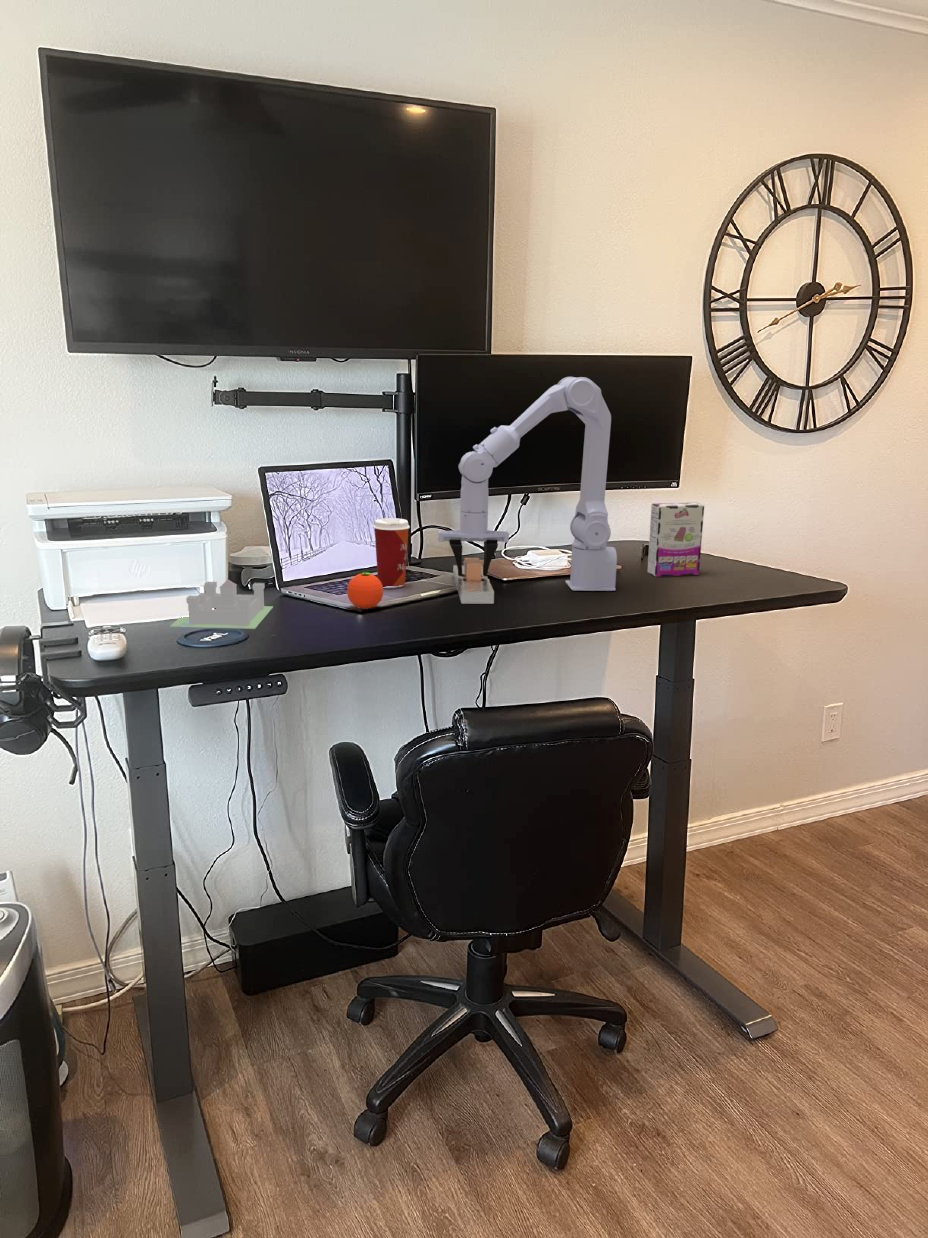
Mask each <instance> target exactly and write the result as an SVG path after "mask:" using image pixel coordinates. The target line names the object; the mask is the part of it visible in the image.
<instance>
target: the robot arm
mask: <svg viewBox="0 0 928 1238" xmlns="http://www.w3.org/2000/svg"><path fill="white" fill-rule="evenodd" d="M565 411H571V412H573V413H574V414H575V415H576V416H577V417H578V418H579V419H580V420H581V421H582V422H583V424H584V425H585V428H584V439H583V440H584V441H583V453H582V454H583V455H582V464H581V466H582V467H581V468H582V469H581V479H580V494H579V501H578V502H577V504H576V507H575V513H574V516H573V518H572V520H571V521H570V525H569V530H570V533H571V535H572V536H573V537H574V540H573V541H572V542H571V544H572V545H571V556H570V557H571V559H570V575H569V577H570V578H569V579H567V580H565V584H566V585H567V586H568V587H569V588H570V589H571V591H575V592H576V591H579V592H580V591H584V592H585V591H589V592H591V591H592V592H595V591H597V592H598V591H601V592H603V591H606V592H612V591H613V592H614V591H616V582H617V581H616V580H617V578H616V577H617V565H618V556H617V550H616V548H615V546H614V547H613V546H607V544H608V542H609V540H610V538H611V533H612V532H611V528H610V525H609V522H608V519H609V518H608V516H609V514H608V510H607V507H606V504H605V499H606V498H605V497H606V487H607V486H606V485H607V473H608V462H609V452H610V451H609V449H610V440H611V439H610V438H611V425H612V414H611V412H610V410H609V408H608V405H607V403H606V401H605V400H604V397H603V395H602V389H601V388H600V387H599V386H598V385H597V383H595V382H594V381H593V380H591V379H590V378H588V377H585V376H584V377H583V376H579V377H574V376H566V377H563V378H562V379H561V380H559V381H558V383H557V384H554V385H553V386H550V387H549V388H548V389H547V390H546V391H544V393H543V394H542V395H541V396H539V398H538V399H536V400H535V401H534V402H533V403H532V404H531V405H530V406H529V407H528V408H527V409H525V411H524V412H523V413H521V414H520V415H519V416H518V417H517V419H515V420H514V421H513V422H512V423H511V424H510V425H500V426H498V427H496V426H494V427H493V428H491V429H490V434H489V435H488V436H487V437H486V438H484V439H483V440H482V441H481V442H480V443H479V444H475V445H473V446H472V449H473V450H472V451H469V452H466V453H465V454H463V456H462V457H461V459H460V461H459V463H458V470H459V472H460V474H461V481H460V483H461V488H460V507H459V508H460V509H459V511H460V514H459V515H460V516H459V529H458V530H438V535H437V536H438V539H437V540H438V542H439V543H443V542H444V543H445V542H448V543H449V545H450V548H451V551H452V553H453V556H454V558H455V561H456V562H455V563H456V565H457V568H458V576H462V565H463V562H462V560H463V559H462V558H463V542H483V565H482V567H483V576H487V577H488V573H489V568H490V565H491V562H492V559H493V557H494V555H495V553H496V551H497V550H498V547H499V542H503V543H509V538H510V537H509V535H510V533H509V532H508V531H499V530H488V526H489V525H488V519H489V517H488V516H489V478H490V477H491V476H492V474H493V470H494V469H493V468H497V467H498V466H499V465H500V464H501V463H502V462H504V461H505V460H506V459H507V458H508V457H510V456H511V454H513V453H514V452H515V451H516V450H517V449H518V448H519V447H520V442H521V438H522V437H523V436H524V435H525V434H527V433H528V432H529V431H531V430H532V429H533V428H534V427H535V426H537V425H538V424H539V423H540V422H542V421H543V420H544V419H545V418H547V417H548V416H549V415H550V414H553V413H558V412H559V413H560V412H565Z"/></svg>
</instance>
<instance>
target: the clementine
mask: <svg viewBox="0 0 928 1238" xmlns="http://www.w3.org/2000/svg"><path fill="white" fill-rule="evenodd" d="M346 588H347V590H346V593H347V598H348V600H349V602H350V603H351V604H352V605H353V606H354V607H356V608H358V607H359V608H358V609H361V608H364V609H363V610H368V609H367V608H370V609H372V608H371V607H373V608H375V607H376V606H377V605H378V604H379V603H380V602H381V601H382V599H383V597H384V588H383V586H382V583H381V581H380V580H379V579H378V576H376V575H374V574H372V573H371V572H365V571H363V572H362V573H358V574H357V575H355V576H353V577H352V578H351V579H350V580H349V582H348V584H347V587H346Z"/></svg>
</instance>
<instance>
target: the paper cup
mask: <svg viewBox="0 0 928 1238" xmlns="http://www.w3.org/2000/svg"><path fill="white" fill-rule="evenodd" d="M372 527H373V529H374V539H375V556H376V573H377V578H378V579H379V580H380V581H381V583H382V586H399V585H404V584H405V583H406V573H407V572H406V570H407V557H408V555H407V554H408V540H409V529H410V528H411V527H410V525H409V522H408V520H407V519H404V518H397V517H389V518H388V517H385V518H378V519H375V521H374V524H373V525H372ZM405 585H406V584H405ZM405 585H404V586H405Z"/></svg>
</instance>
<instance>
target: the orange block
mask: <svg viewBox="0 0 928 1238" xmlns="http://www.w3.org/2000/svg"><path fill="white" fill-rule="evenodd" d="M463 562H464V564H463V565H464V577H465V578H466V581H481V565H482V563H481V560H480V558H479V557H464V561H463Z"/></svg>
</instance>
